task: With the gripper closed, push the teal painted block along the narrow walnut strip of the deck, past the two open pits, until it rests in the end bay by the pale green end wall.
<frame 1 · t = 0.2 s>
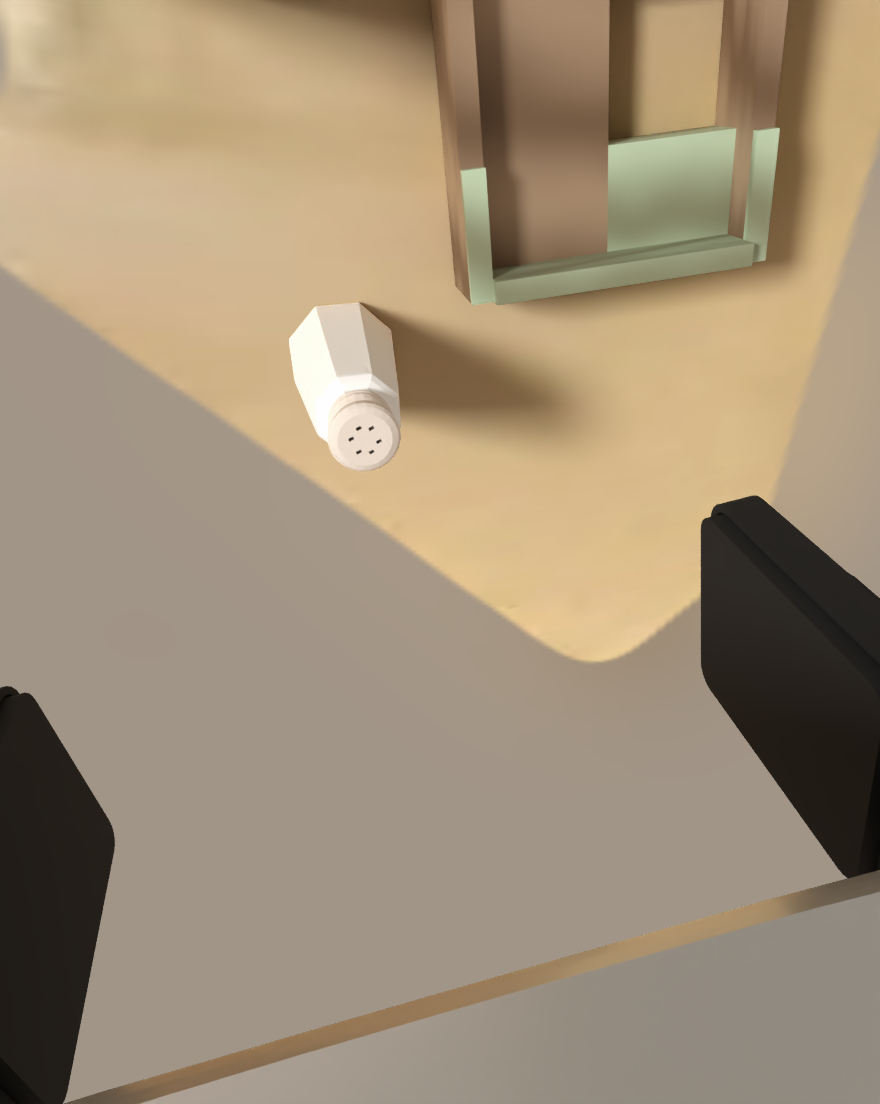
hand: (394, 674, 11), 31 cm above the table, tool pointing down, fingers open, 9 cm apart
salt shaker: (342, 353, 40), on the table
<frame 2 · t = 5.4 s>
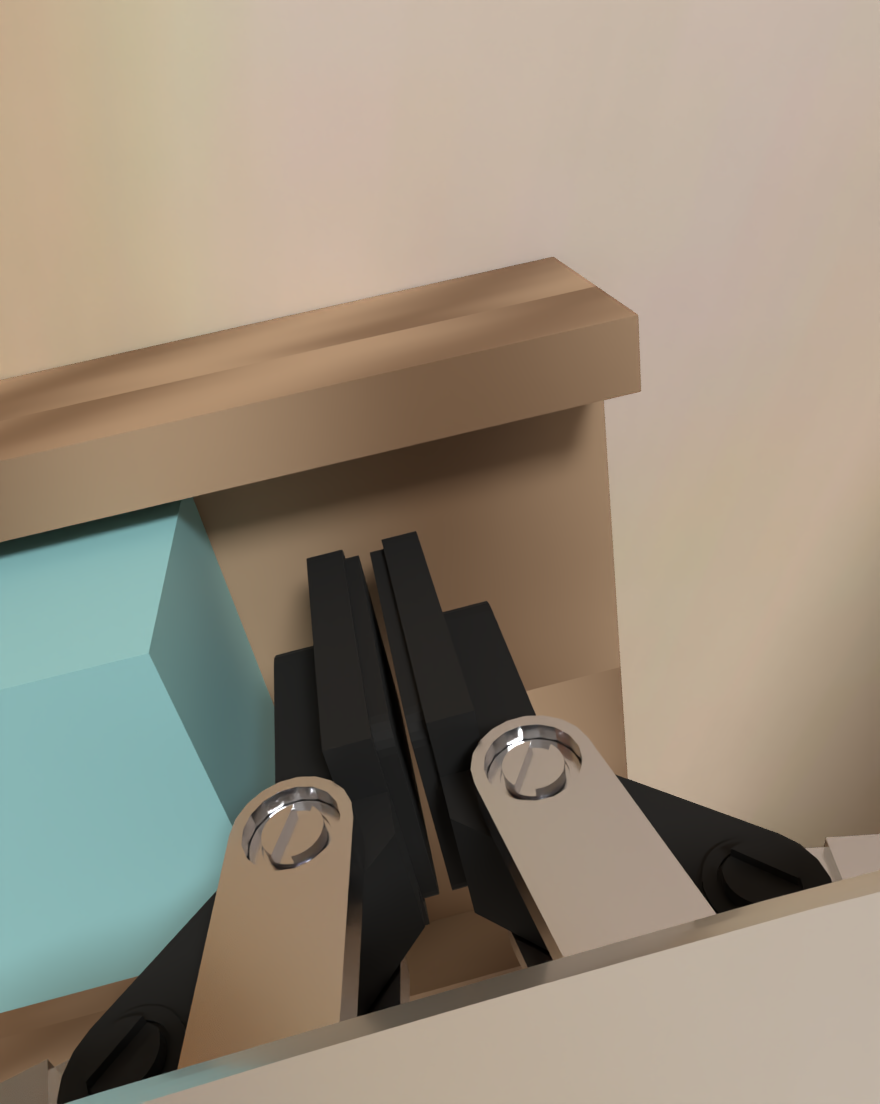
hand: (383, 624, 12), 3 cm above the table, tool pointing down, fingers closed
block: (82, 655, 13), point 2 cm above the table, touching gripper
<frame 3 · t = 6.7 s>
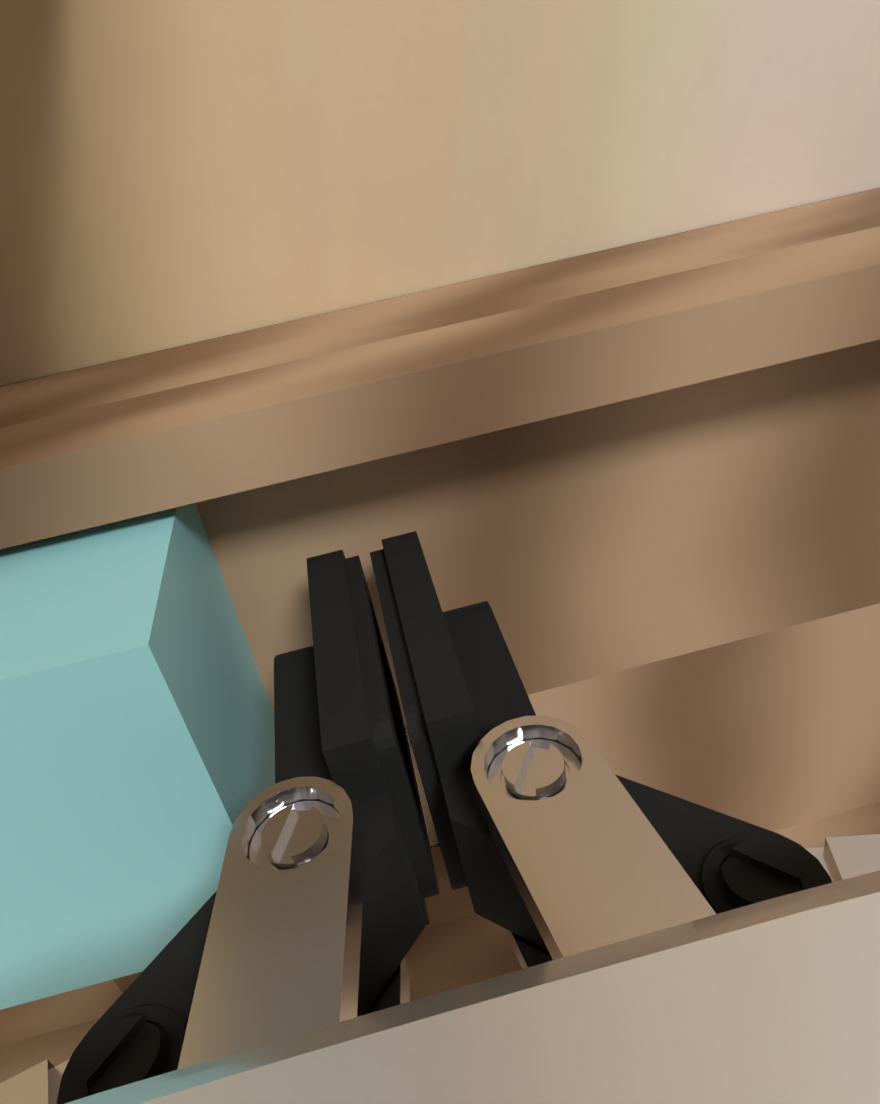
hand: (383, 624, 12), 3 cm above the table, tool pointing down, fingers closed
block: (78, 650, 13), point 2 cm above the table, touching gripper, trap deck
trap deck: (209, 704, 16), on the table
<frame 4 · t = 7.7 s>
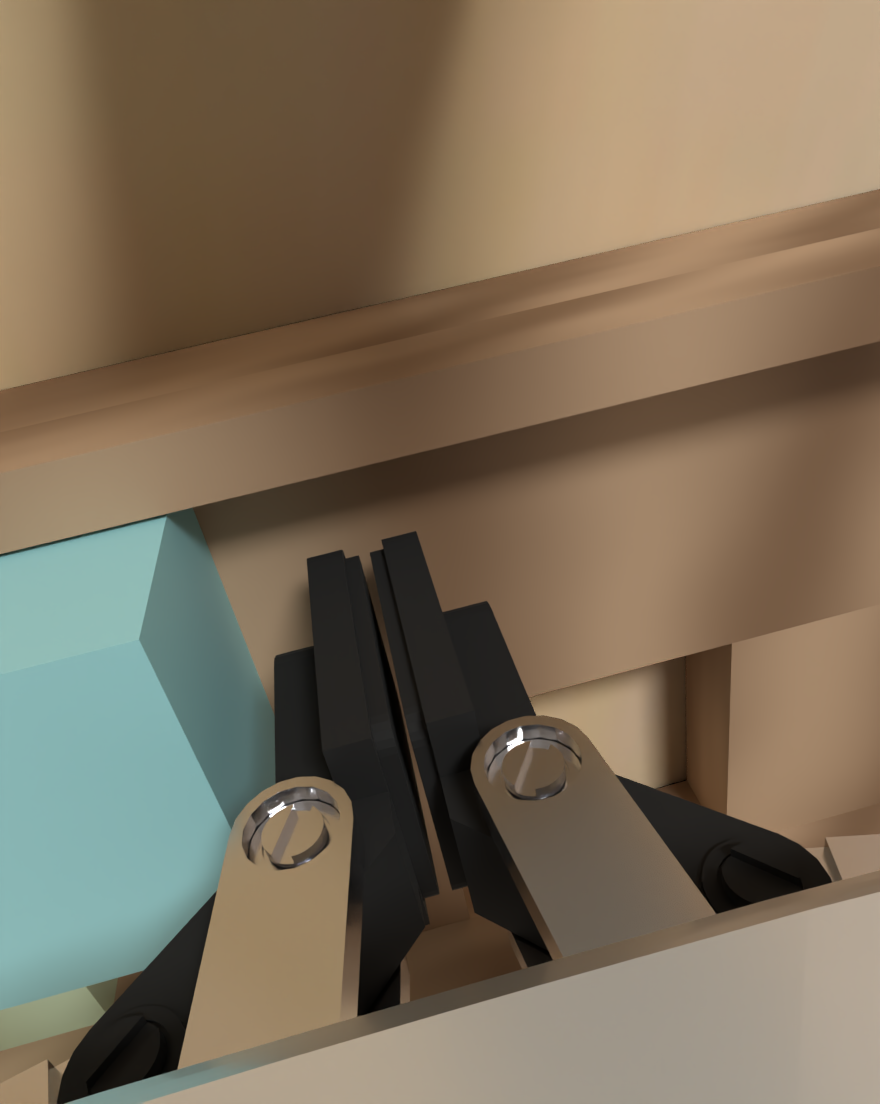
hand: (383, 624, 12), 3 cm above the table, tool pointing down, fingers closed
block: (73, 649, 12), point 2 cm above the table, touching gripper, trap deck
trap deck: (475, 639, 16), on the table
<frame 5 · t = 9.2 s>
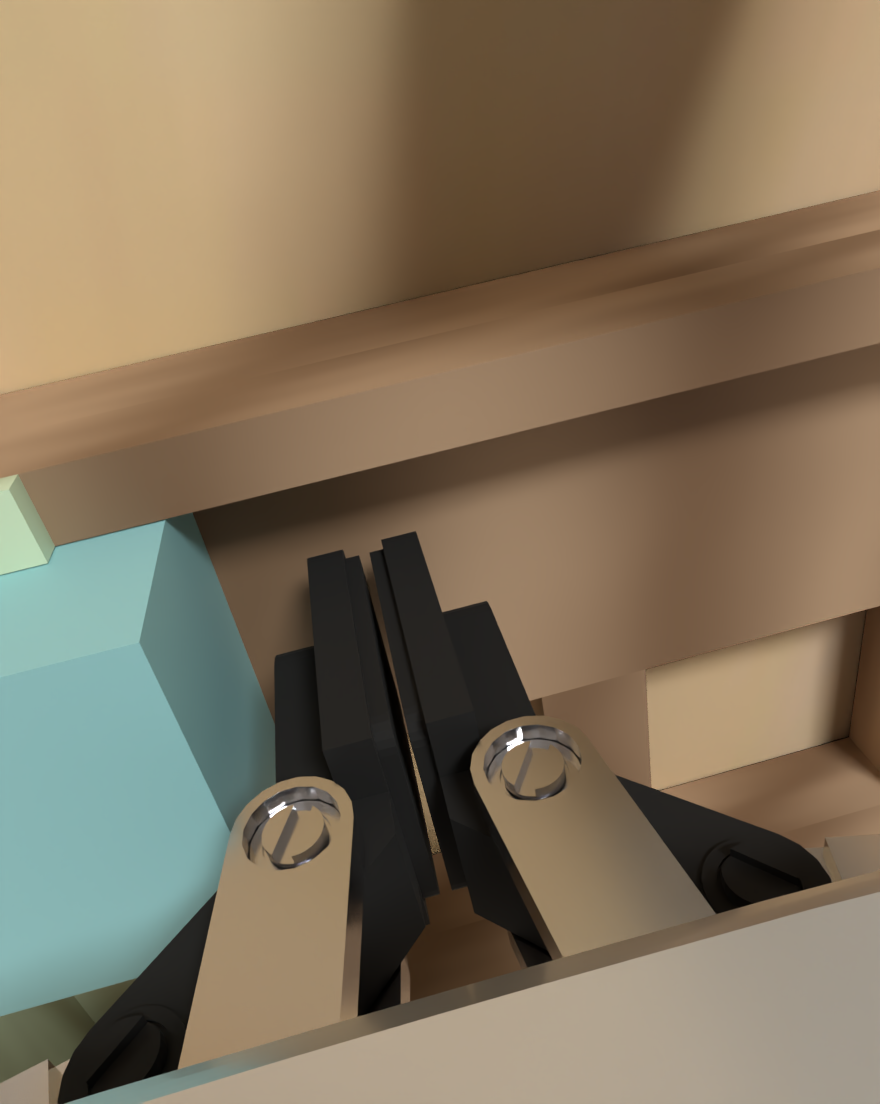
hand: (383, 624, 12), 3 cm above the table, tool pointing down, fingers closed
block: (70, 652, 12), point 2 cm above the table, touching gripper, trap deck
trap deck: (675, 590, 17), on the table
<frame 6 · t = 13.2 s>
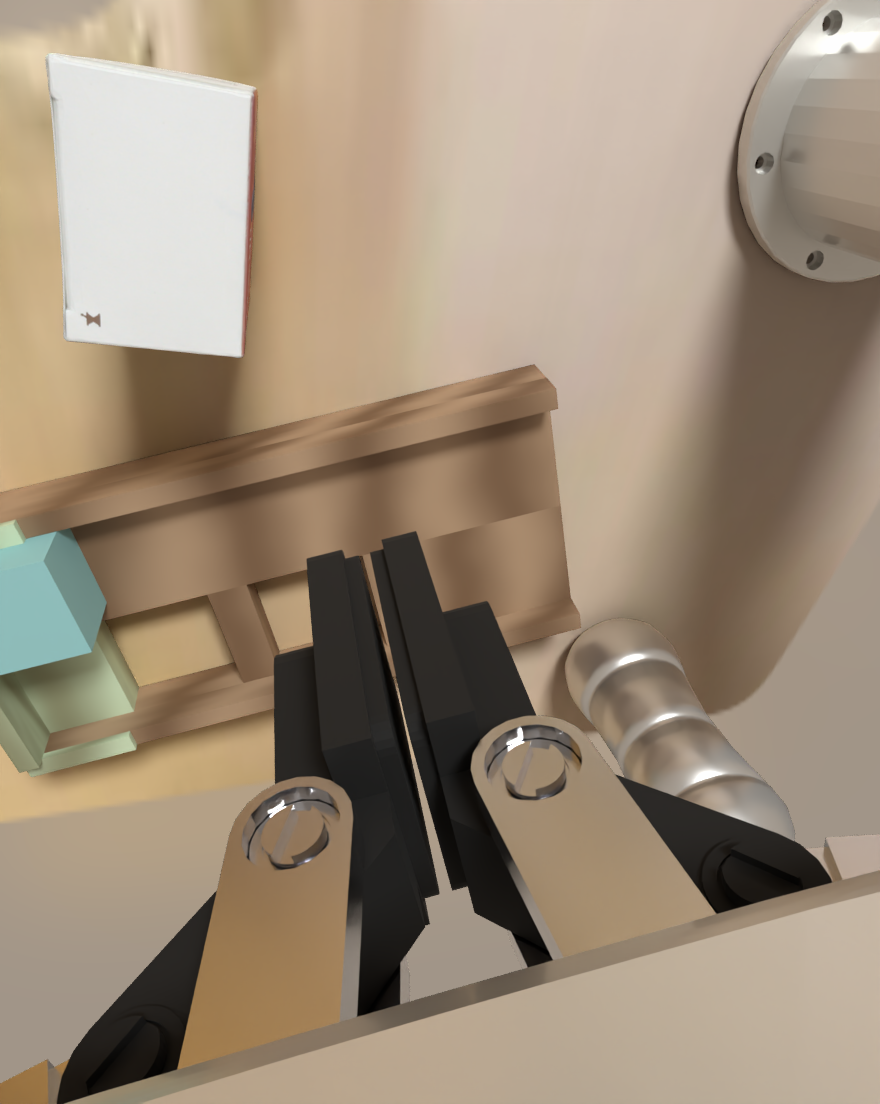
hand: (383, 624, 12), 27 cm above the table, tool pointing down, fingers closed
plastic bottle: (606, 645, 50), on the table
block: (33, 573, 38), point 2 cm above the table, touching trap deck
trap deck: (275, 557, 42), on the table
small box: (185, 182, 33), on the table
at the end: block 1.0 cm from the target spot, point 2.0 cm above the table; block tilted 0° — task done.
